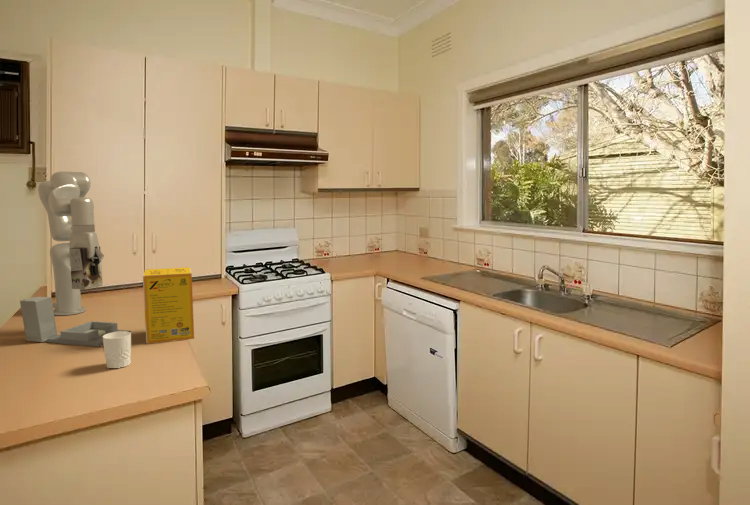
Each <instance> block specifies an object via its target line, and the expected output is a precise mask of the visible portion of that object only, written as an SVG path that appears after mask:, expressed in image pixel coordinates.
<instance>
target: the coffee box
mask: <svg viewBox="0 0 750 505" xmlns="http://www.w3.org/2000/svg"><path fill="white" fill-rule="evenodd" d="M69 250H70V266H71V281H72V289H80V290H90V289H94V288H98V287H103V285H104V283H103V270H102V261H101V262H100V264H99V265H98V272H99V274H98V275H94V276H92V275H91V268H90V266H91V265H92V264H91V262H90V259H87V251H86V248H69ZM99 250H100V251H101V246H100V245H99ZM95 254H96V253H95ZM94 257H95V256H94ZM97 258H98V257H97ZM93 260H94V259H93ZM94 261H95V260H94Z"/></svg>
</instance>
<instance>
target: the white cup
mask: <svg viewBox="0 0 750 505" xmlns="http://www.w3.org/2000/svg"><path fill="white" fill-rule="evenodd" d="M127 331H128V330H127ZM127 331H119V332H112V333H108V334H105V335H104V336H103V345H102V346H103V352H104V359H105V363H106V368H107V369H109V368H119V369H121V368H120V367H124V366H127V365H129V364H130V363H131V358H132V357H131V355H132V332H131V333H130V332H127ZM130 365H131V364H130ZM130 365H129V366H130ZM127 367H128V366H127ZM124 368H125V367H124Z"/></svg>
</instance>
